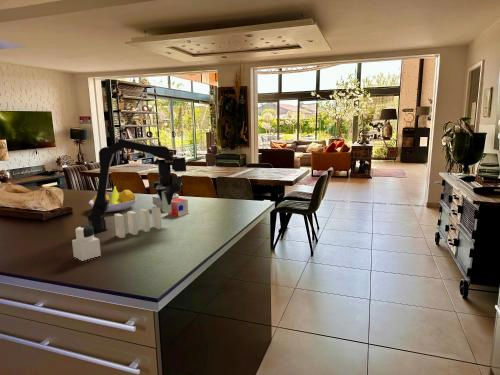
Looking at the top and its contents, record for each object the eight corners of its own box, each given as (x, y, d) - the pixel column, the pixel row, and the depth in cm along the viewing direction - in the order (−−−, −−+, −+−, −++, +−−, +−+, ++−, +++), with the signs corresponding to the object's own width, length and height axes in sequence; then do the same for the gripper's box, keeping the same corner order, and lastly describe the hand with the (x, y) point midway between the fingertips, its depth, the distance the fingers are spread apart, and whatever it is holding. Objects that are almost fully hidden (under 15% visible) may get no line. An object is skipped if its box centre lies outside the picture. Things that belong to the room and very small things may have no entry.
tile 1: (120, 238, 150) (118, 216, 148) (116, 235, 154) (114, 214, 152) (125, 237, 152) (123, 215, 150) (120, 234, 155) (118, 213, 153)
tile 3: (146, 232, 158) (144, 211, 156) (141, 229, 162) (139, 209, 160) (150, 231, 160) (148, 210, 158) (145, 228, 163) (143, 208, 161)
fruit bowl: (128, 214, 190) (127, 194, 188) (80, 215, 191) (78, 195, 189) (145, 203, 218) (143, 185, 216) (103, 203, 218) (101, 186, 216)
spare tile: (168, 213, 165) (166, 192, 163) (162, 211, 169) (161, 191, 167) (171, 212, 167) (170, 192, 165) (166, 210, 170) (165, 190, 168)
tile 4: (157, 229, 162) (156, 208, 161) (152, 227, 166) (151, 207, 164) (161, 228, 164) (160, 207, 162) (156, 226, 167) (155, 206, 165)
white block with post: (92, 252, 134) (89, 223, 132) (101, 256, 129) (98, 226, 127) (73, 258, 129) (70, 227, 126) (82, 262, 124) (78, 231, 122)
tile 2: (133, 235, 154) (131, 213, 152) (129, 232, 158) (127, 211, 156) (137, 234, 156) (136, 212, 154) (133, 231, 159) (131, 210, 157)
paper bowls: (182, 205, 210) (181, 192, 209) (174, 211, 196) (173, 197, 194) (158, 204, 212) (157, 192, 210) (149, 211, 197) (148, 197, 196)
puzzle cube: (177, 211, 194) (176, 198, 193) (188, 213, 190) (187, 199, 189) (167, 215, 188) (166, 201, 186) (178, 216, 184) (177, 202, 182)
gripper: (189, 172, 163) (191, 204, 166) (169, 169, 176) (171, 198, 179) (169, 174, 155) (171, 208, 158) (149, 171, 169) (151, 202, 171)
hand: (166, 203), depth 167 cm, fingers closed on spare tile, 5 cm apart
